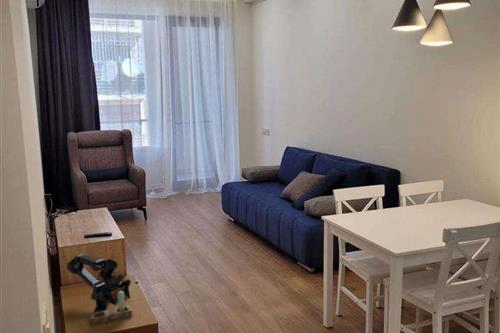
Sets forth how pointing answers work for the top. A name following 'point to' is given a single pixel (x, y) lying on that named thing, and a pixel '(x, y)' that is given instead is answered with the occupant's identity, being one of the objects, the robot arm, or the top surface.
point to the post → (121, 301)
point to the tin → (114, 293)
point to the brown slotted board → (110, 315)
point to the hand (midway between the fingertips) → (123, 301)
